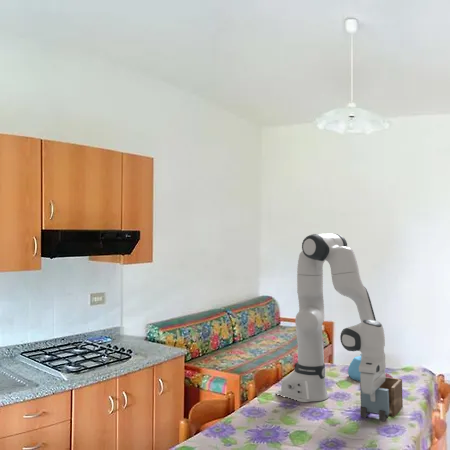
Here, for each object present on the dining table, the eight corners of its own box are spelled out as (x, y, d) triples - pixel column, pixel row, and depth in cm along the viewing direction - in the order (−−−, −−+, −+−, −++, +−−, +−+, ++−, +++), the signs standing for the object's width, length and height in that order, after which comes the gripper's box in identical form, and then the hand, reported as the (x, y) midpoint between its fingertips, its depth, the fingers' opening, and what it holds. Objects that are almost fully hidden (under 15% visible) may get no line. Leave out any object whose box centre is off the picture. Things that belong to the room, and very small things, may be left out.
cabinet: (355, 415, 185) (355, 386, 186) (370, 401, 202) (369, 374, 202) (390, 422, 178) (389, 392, 179) (402, 406, 195) (402, 379, 195)
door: (390, 412, 183) (389, 388, 183) (387, 415, 180) (387, 390, 180) (364, 407, 188) (363, 384, 189) (361, 410, 186) (360, 387, 186)
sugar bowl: (357, 383, 226) (357, 358, 227) (342, 375, 241) (342, 351, 241) (386, 381, 230) (385, 356, 230) (369, 372, 245) (369, 349, 245)
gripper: (372, 356, 195) (374, 390, 194) (357, 368, 178) (358, 406, 177) (388, 358, 191) (390, 393, 191) (374, 370, 174) (375, 409, 174)
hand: (374, 399), depth 184 cm, fingers closed on door, 2 cm apart
